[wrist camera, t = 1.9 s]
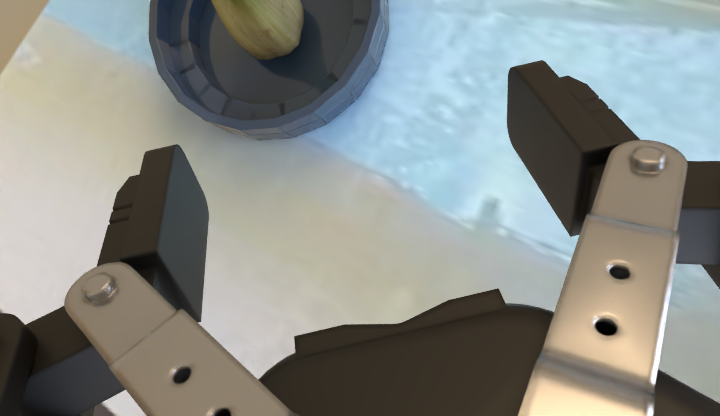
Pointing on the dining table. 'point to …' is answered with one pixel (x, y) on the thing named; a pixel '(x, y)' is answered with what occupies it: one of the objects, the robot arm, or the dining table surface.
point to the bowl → (268, 66)
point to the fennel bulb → (263, 25)
